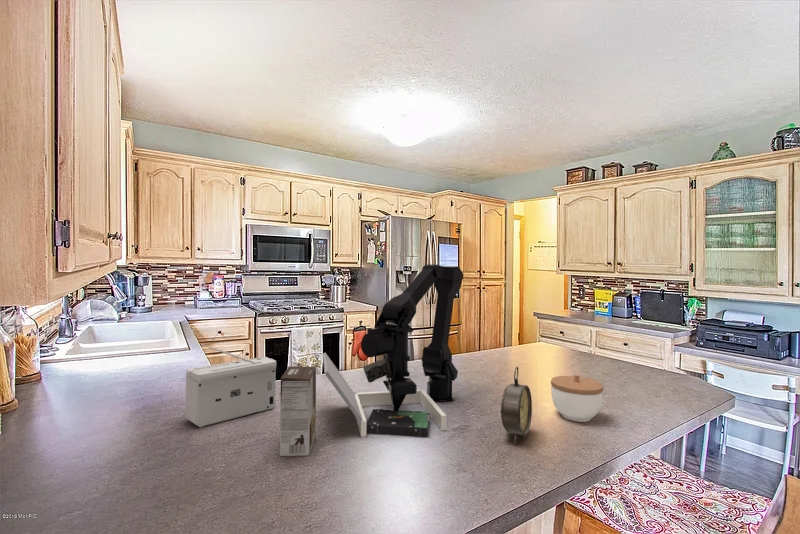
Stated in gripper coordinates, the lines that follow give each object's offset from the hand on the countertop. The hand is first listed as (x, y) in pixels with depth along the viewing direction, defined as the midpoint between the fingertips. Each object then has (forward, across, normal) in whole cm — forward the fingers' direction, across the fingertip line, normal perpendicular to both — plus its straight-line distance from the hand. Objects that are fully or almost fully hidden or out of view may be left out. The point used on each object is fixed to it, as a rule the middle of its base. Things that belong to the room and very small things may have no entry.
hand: (395, 411), depth 101 cm
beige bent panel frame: (+2, 0, -4) cm, 4 cm away
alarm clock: (+2, +16, +25) cm, 30 cm away
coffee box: (+2, +12, -24) cm, 27 cm away
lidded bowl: (+2, +8, +47) cm, 48 cm away
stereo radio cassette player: (+2, -9, -41) cm, 42 cm away
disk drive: (+2, +6, 0) cm, 7 cm away
